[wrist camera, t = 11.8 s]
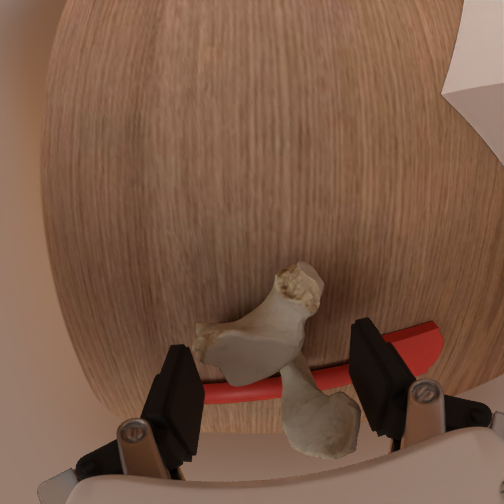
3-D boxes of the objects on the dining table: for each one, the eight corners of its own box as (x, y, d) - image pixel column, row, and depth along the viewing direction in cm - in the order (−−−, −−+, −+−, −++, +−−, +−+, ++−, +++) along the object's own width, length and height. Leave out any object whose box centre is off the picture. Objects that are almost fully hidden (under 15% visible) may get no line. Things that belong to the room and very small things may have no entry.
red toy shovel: (191, 406, 17) (188, 420, 16) (173, 365, 16) (168, 380, 15) (430, 361, 17) (438, 371, 15) (441, 317, 15) (452, 327, 14)
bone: (163, 243, 12) (334, 417, 4) (280, 221, 15) (457, 300, 7) (186, 377, 15) (285, 512, 7) (273, 343, 18) (384, 437, 10)
